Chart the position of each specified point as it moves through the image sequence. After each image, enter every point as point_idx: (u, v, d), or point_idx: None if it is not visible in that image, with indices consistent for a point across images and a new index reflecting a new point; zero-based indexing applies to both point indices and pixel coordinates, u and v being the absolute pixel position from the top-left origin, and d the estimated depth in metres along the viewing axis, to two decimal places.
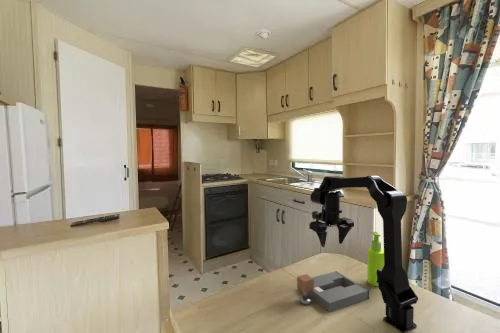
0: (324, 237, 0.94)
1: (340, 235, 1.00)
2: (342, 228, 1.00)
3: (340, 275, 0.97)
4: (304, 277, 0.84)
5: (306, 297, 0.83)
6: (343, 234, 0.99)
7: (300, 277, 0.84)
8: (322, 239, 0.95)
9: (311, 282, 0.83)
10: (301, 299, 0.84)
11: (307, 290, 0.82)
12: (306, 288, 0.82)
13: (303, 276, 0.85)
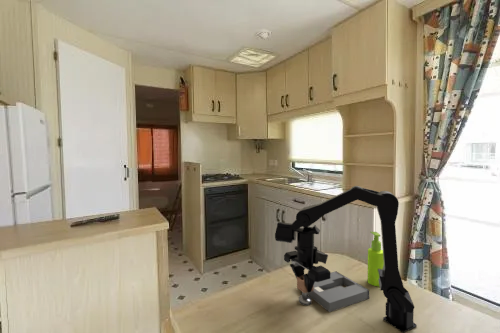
0: (294, 272, 0.86)
1: None
2: None
3: (340, 275, 0.97)
4: None
5: (306, 297, 0.83)
6: None
7: (300, 277, 0.84)
8: None
9: None
10: (301, 299, 0.84)
11: None
12: (306, 288, 0.82)
13: (303, 276, 0.85)
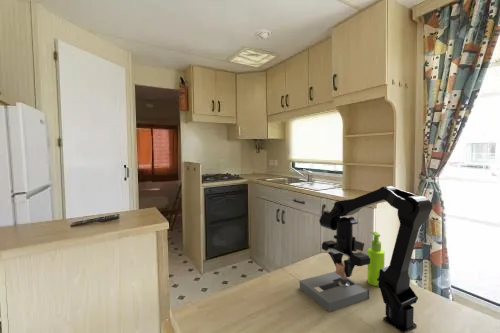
0: (333, 260, 0.94)
1: None
2: None
3: None
4: (342, 263, 0.92)
5: (345, 282, 0.91)
6: None
7: (339, 263, 0.92)
8: None
9: None
10: (340, 284, 0.91)
11: (346, 275, 0.90)
12: None
13: (342, 263, 0.92)
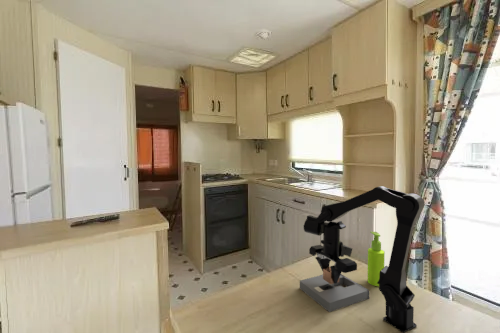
0: (320, 265, 0.91)
1: None
2: None
3: (340, 275, 0.97)
4: (330, 269, 0.89)
5: None
6: None
7: (326, 269, 0.89)
8: None
9: None
10: None
11: (333, 281, 0.87)
12: None
13: (329, 268, 0.90)
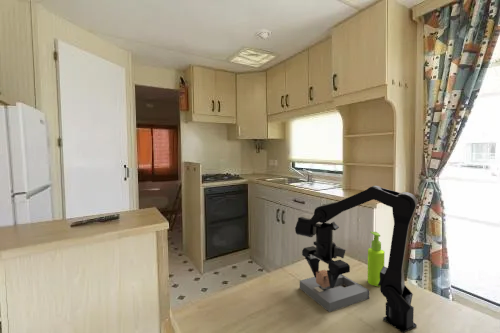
0: (309, 265, 0.91)
1: None
2: None
3: (340, 275, 0.97)
4: (323, 272, 0.88)
5: None
6: None
7: (319, 272, 0.88)
8: None
9: None
10: None
11: (326, 285, 0.86)
12: (326, 283, 0.85)
13: (322, 271, 0.88)
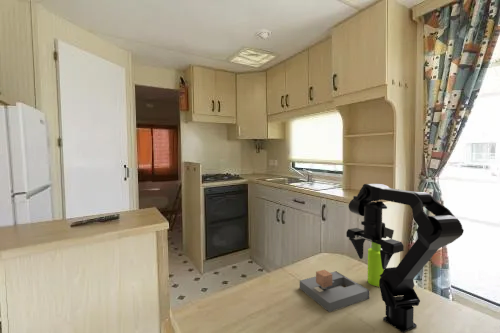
0: (354, 246, 0.89)
1: None
2: None
3: (340, 275, 0.97)
4: (323, 272, 0.88)
5: None
6: None
7: (319, 272, 0.88)
8: None
9: (330, 277, 0.86)
10: None
11: (326, 285, 0.86)
12: (326, 283, 0.85)
13: (322, 271, 0.88)
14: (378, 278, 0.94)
